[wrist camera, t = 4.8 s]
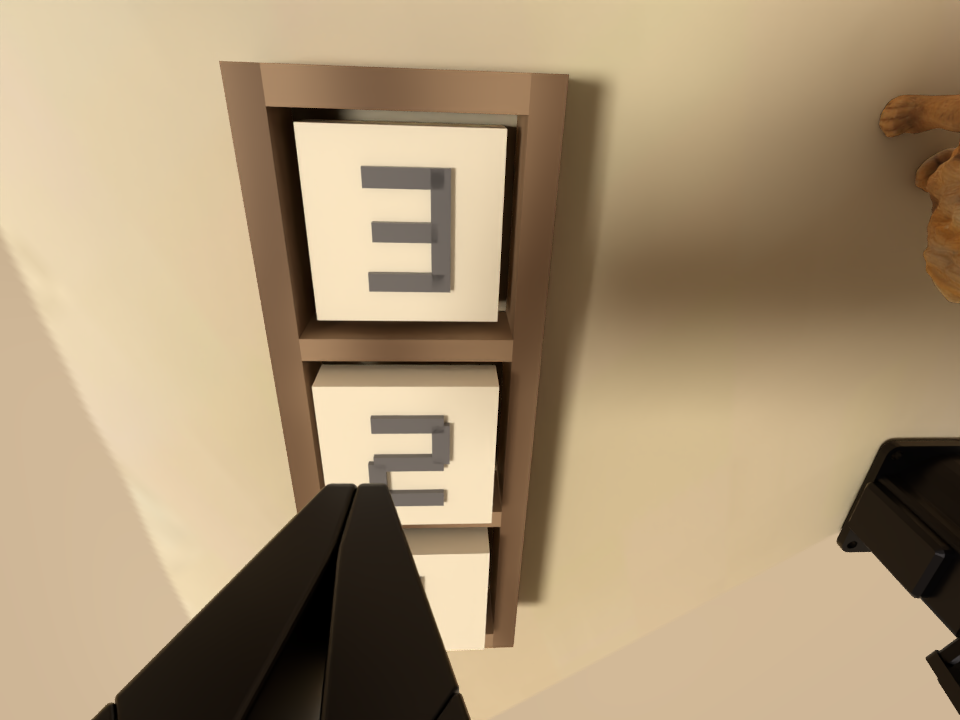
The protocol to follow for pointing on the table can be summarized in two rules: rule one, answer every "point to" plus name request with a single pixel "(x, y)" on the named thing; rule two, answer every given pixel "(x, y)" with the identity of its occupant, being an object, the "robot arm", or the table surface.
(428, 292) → the tile
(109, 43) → the table surface
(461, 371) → the tile
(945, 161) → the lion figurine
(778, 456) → the table surface
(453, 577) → the tile
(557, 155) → the tile rack
